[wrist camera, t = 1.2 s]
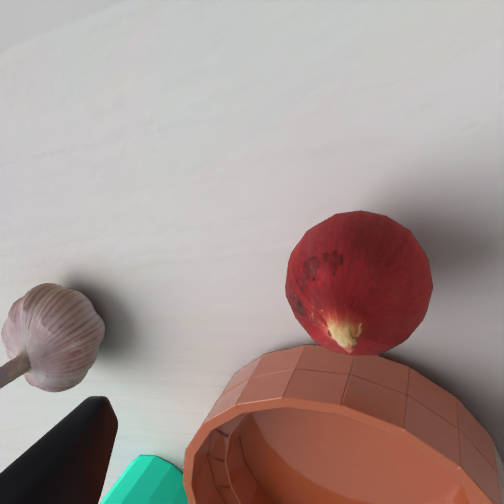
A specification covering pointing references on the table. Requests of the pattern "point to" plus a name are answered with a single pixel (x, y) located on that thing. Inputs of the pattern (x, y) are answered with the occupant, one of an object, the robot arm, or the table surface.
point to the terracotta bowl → (339, 437)
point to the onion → (359, 283)
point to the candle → (148, 484)
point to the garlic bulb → (51, 338)
